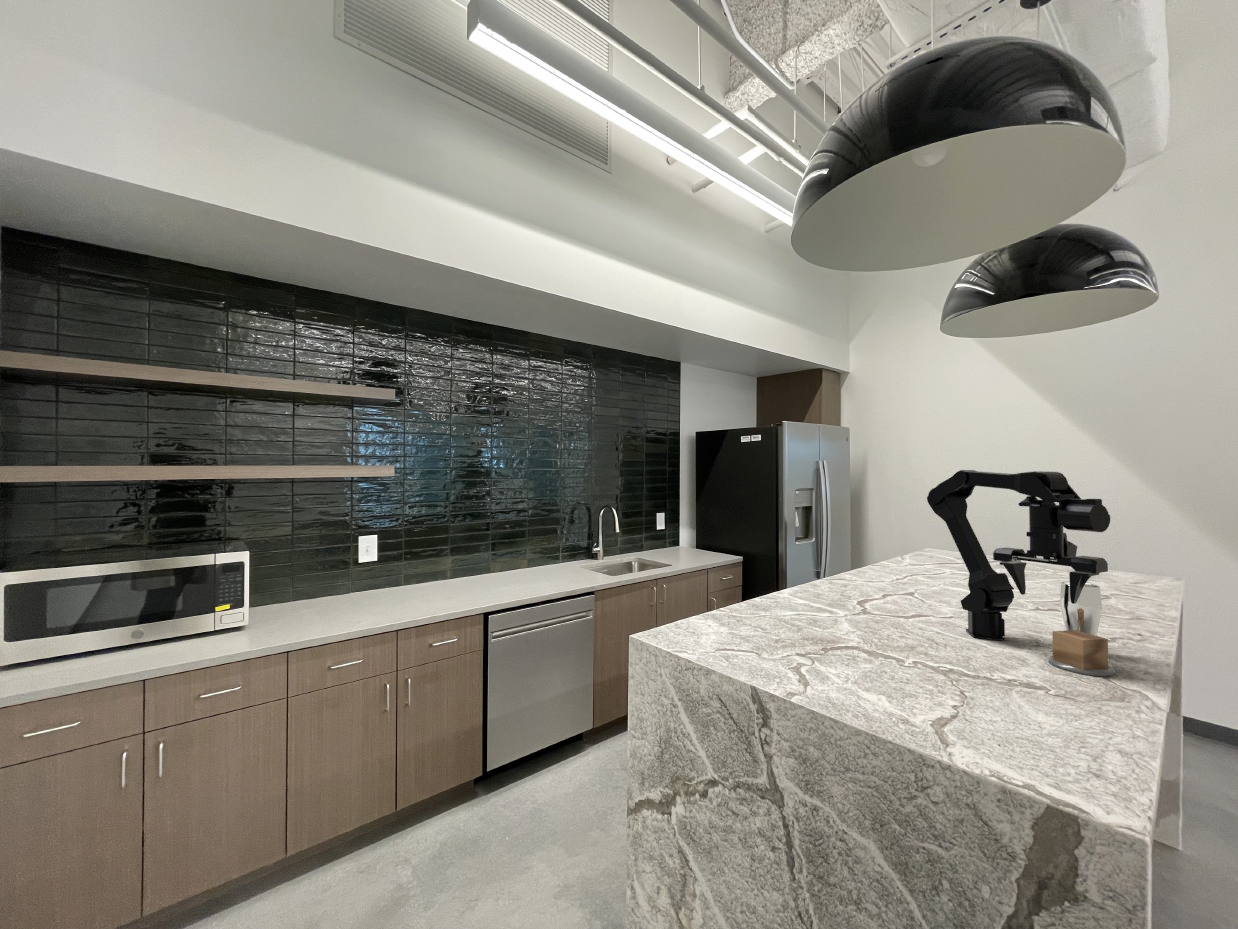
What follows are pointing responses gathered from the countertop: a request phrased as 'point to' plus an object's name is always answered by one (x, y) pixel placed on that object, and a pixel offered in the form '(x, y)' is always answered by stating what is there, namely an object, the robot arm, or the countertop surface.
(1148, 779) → the countertop surface
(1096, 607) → the beer glass
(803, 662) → the countertop surface
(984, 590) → the robot arm
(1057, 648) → the walnut block
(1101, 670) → the slate coaster
